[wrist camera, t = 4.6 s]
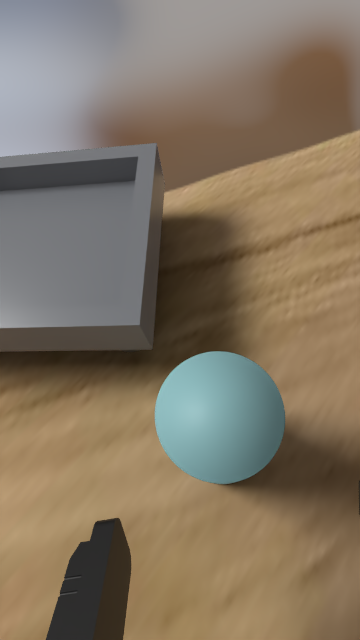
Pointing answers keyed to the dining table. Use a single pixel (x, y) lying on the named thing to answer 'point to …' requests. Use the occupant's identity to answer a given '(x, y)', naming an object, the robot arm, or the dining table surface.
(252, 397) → the teal cylinder
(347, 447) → the dining table surface
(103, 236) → the grey square tray
